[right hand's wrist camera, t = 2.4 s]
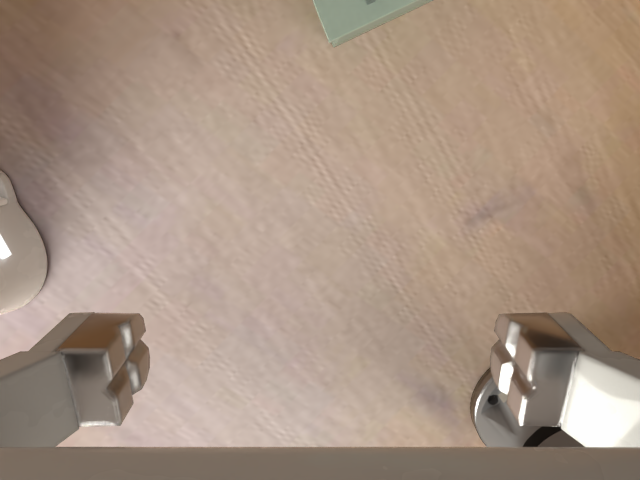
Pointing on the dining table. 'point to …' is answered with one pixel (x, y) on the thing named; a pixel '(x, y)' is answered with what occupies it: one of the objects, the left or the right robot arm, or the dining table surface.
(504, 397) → the left robot arm
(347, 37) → the chest
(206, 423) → the dining table surface
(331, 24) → the lid
